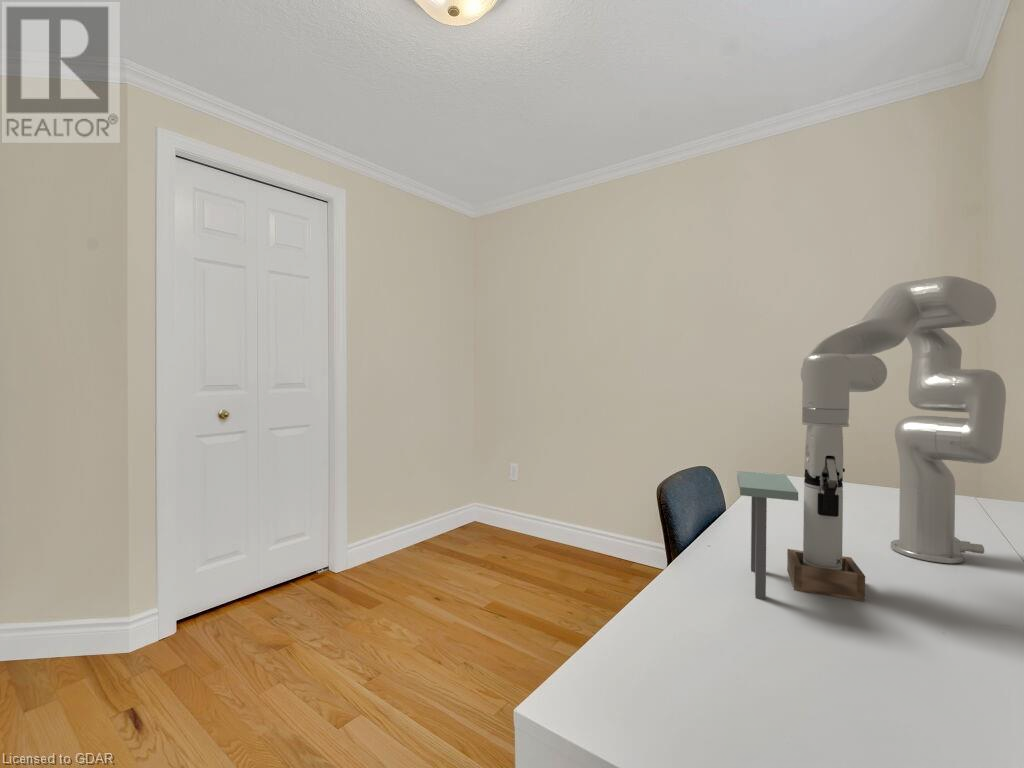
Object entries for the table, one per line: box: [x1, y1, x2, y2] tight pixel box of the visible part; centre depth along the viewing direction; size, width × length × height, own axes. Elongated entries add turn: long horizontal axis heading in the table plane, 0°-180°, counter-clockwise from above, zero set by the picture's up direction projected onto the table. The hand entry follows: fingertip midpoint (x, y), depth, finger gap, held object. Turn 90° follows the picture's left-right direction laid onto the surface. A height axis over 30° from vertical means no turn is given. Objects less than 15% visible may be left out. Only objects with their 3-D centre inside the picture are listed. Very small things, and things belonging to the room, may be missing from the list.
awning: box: [736, 470, 799, 601], centre depth 90 cm, size 9×17×20 cm, turn 156°
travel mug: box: [802, 467, 846, 571], centre depth 90 cm, size 6×7×20 cm
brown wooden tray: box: [786, 548, 866, 602], centre depth 90 cm, size 11×10×4 cm
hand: (824, 510), depth 90 cm, fingers closed on travel mug, 6 cm apart
